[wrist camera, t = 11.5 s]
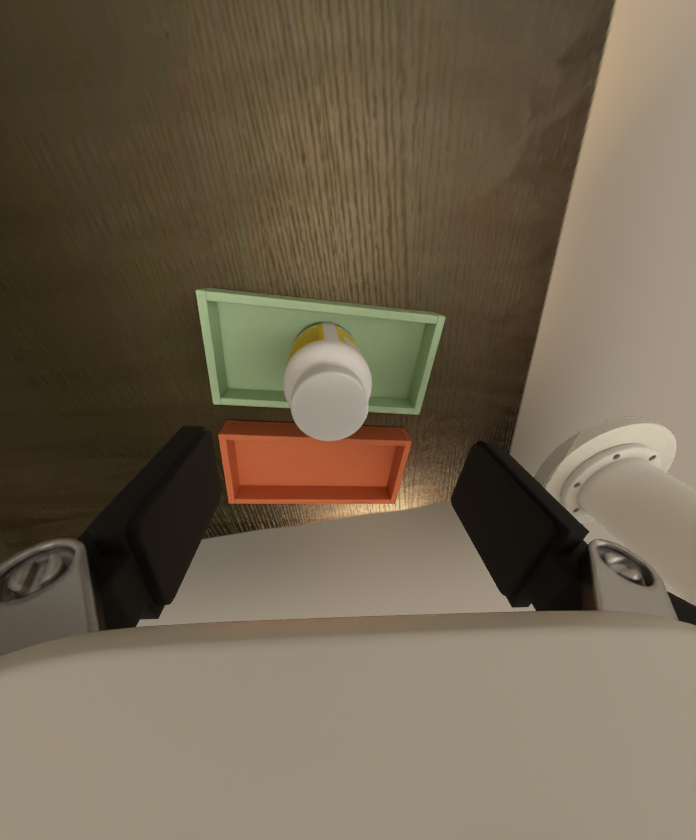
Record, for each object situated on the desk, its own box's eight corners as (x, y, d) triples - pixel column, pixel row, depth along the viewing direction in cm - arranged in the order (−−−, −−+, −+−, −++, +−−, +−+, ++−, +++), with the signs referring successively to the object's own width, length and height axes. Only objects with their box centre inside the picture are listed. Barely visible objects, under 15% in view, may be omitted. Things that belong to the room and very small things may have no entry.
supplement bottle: (289, 381, 22) (272, 447, 14) (294, 314, 20) (277, 346, 11) (351, 389, 23) (370, 455, 15) (363, 326, 21) (394, 364, 12)
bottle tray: (433, 312, 21) (446, 316, 19) (410, 402, 25) (419, 414, 23) (209, 287, 19) (195, 289, 17) (223, 391, 23) (213, 404, 21)
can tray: (404, 427, 27) (412, 441, 24) (389, 487, 31) (395, 503, 28) (226, 419, 24) (217, 434, 22) (235, 486, 28) (228, 503, 26)
